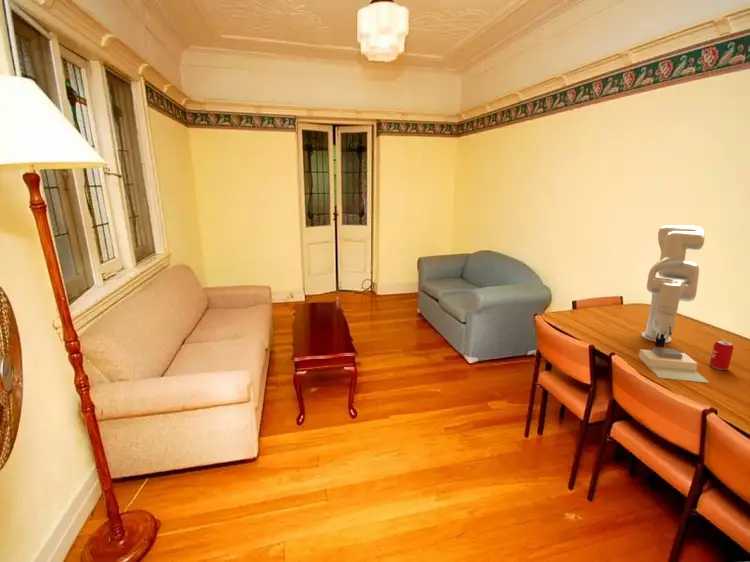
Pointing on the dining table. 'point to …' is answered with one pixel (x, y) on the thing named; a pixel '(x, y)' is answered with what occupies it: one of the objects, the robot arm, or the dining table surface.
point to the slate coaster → (667, 353)
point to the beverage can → (721, 354)
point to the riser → (667, 361)
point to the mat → (678, 374)
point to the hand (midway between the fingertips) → (659, 346)
